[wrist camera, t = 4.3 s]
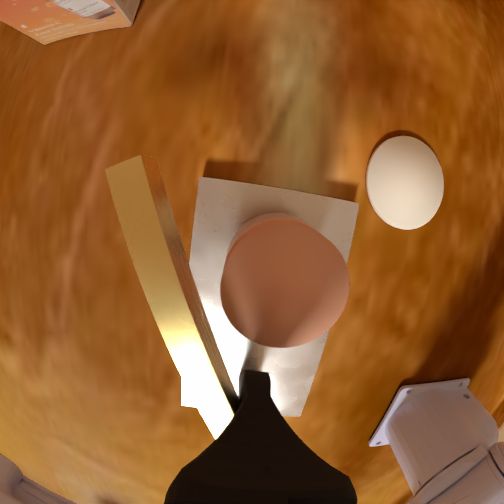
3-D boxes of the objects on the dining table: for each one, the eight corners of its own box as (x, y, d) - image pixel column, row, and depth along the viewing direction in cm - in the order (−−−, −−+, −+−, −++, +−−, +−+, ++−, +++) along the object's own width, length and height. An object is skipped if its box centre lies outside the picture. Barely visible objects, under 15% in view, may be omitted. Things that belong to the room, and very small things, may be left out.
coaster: (445, 151, 16) (448, 151, 15) (431, 235, 17) (434, 236, 17) (372, 125, 16) (374, 124, 15) (357, 219, 17) (360, 220, 17)
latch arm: (277, 457, 13) (280, 480, 11) (234, 464, 13) (234, 487, 11) (173, 152, 9) (160, 147, 7) (110, 175, 9) (88, 176, 7)
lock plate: (353, 201, 17) (414, 218, 10) (298, 408, 21) (313, 477, 14) (202, 176, 16) (172, 176, 9) (183, 396, 20) (166, 466, 13)
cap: (331, 221, 14) (362, 237, 10) (312, 310, 15) (331, 351, 11) (233, 205, 14) (229, 216, 10) (221, 299, 15) (213, 340, 11)
